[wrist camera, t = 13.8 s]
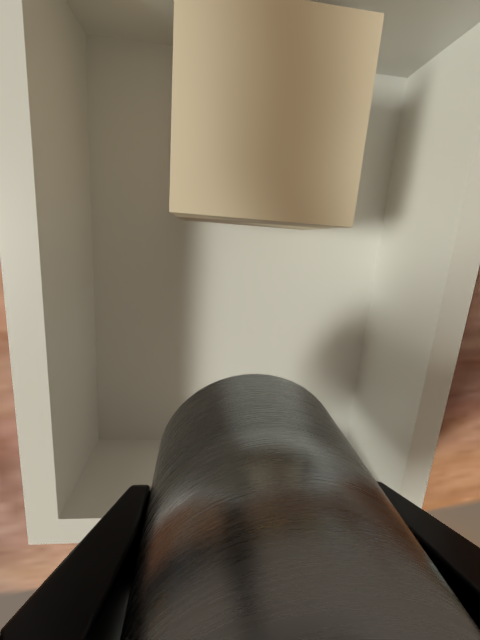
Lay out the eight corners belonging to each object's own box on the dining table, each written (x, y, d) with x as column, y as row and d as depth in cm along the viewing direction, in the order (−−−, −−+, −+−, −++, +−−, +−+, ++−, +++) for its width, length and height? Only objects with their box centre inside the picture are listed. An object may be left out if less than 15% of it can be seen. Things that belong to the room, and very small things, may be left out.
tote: (59, 4, 12) (-41, -155, 7) (428, 58, 13) (552, -40, 9) (81, 451, 16) (28, 544, 11) (358, 451, 18) (415, 531, 13)
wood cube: (181, 220, 14) (169, 212, 9) (186, 78, 12) (174, -22, 8) (301, 229, 14) (352, 227, 9) (317, 95, 13) (384, 13, 8)
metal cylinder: (157, 533, 10) (51, 1220, 3) (159, 371, 8) (-9, 910, 2) (323, 527, 10) (554, 1089, 4) (348, 376, 9) (769, 788, 2)
